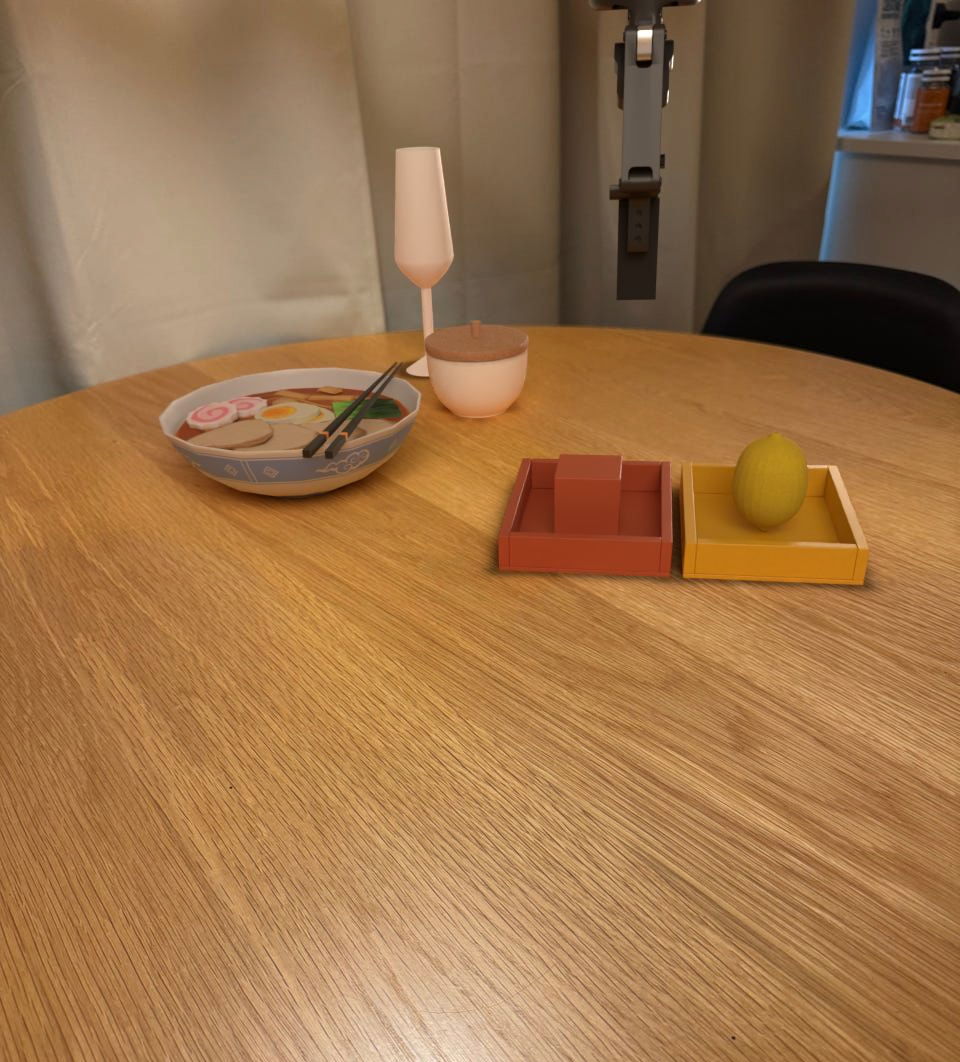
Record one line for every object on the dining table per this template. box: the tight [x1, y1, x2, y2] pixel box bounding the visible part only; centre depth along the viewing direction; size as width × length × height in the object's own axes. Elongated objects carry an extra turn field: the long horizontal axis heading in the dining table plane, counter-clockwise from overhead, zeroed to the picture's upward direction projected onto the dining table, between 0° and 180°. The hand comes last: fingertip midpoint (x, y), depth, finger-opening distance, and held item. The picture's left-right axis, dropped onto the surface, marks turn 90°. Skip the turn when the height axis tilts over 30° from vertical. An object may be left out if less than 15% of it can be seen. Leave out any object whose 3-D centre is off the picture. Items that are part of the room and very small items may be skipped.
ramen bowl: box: [157, 361, 422, 499], centre depth 89 cm, size 25×23×8 cm
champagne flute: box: [393, 146, 455, 377], centre depth 114 cm, size 7×7×24 cm
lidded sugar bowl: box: [424, 319, 530, 419], centre depth 105 cm, size 11×11×9 cm
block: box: [554, 453, 624, 536], centre depth 79 cm, size 5×5×5 cm
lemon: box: [732, 431, 808, 531], centre depth 76 cm, size 6×6×8 cm
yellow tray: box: [679, 461, 871, 586], centre depth 78 cm, size 13×16×3 cm
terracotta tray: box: [497, 457, 674, 578], centre depth 80 cm, size 13×16×3 cm
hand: (636, 278), depth 76 cm, fingers open, 13 cm apart
